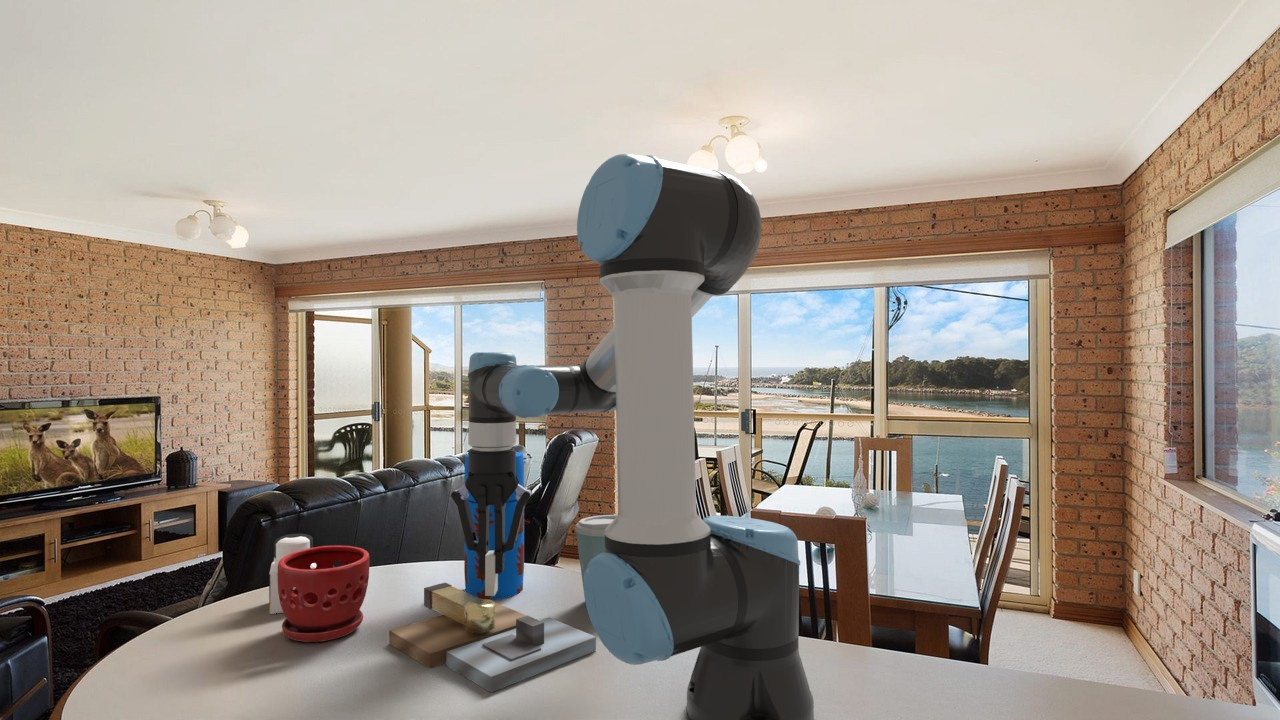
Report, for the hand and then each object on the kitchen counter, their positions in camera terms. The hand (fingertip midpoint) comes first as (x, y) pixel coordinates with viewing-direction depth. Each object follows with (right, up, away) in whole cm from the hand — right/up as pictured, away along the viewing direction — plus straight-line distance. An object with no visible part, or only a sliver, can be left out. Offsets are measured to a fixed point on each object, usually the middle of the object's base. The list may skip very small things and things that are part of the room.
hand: (491, 592), depth 113 cm
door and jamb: (+2, -5, -10) cm, 11 cm away
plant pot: (-25, -5, -4) cm, 26 cm away
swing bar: (-4, -2, -5) cm, 7 cm away
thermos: (-3, -5, +16) cm, 17 cm away
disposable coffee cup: (+18, -5, +10) cm, 21 cm away
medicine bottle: (-36, -5, +8) cm, 37 cm away
